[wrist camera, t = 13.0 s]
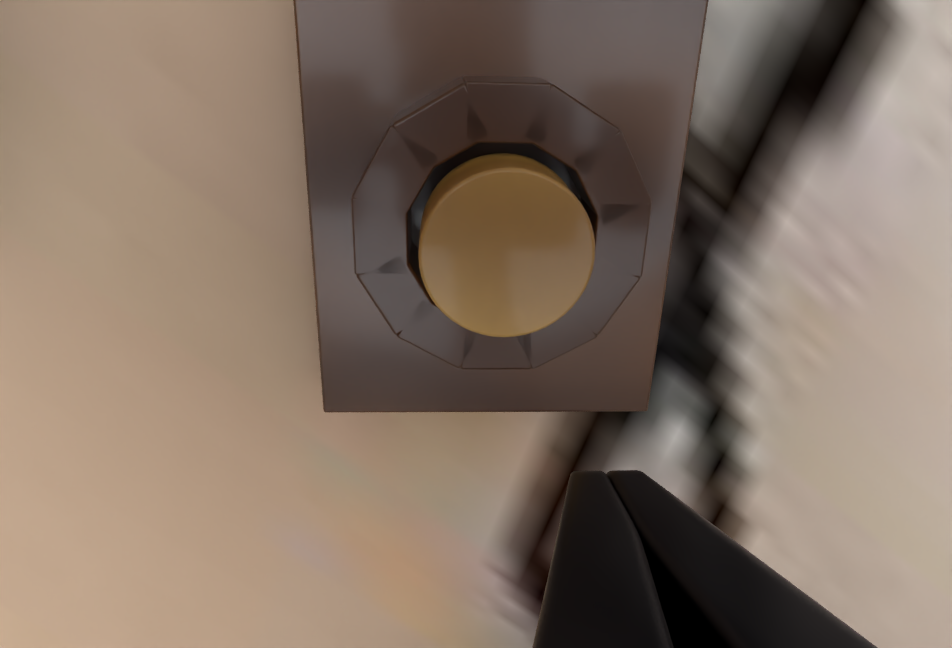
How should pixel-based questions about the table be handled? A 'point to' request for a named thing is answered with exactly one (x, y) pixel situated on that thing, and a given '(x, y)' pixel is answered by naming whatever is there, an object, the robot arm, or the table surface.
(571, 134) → the block
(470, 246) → the call button
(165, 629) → the table surface
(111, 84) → the table surface
